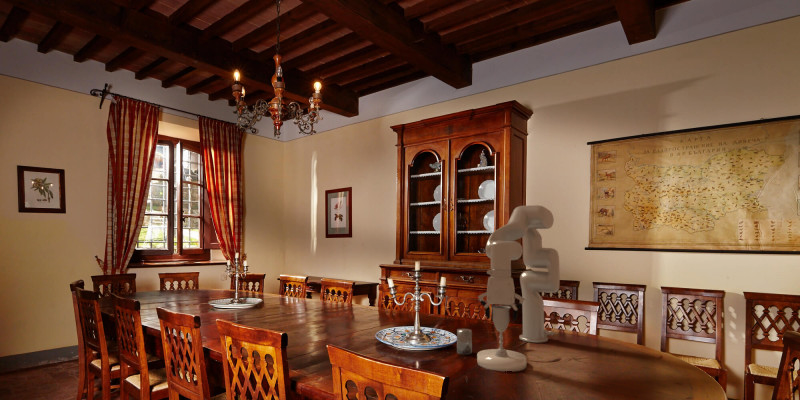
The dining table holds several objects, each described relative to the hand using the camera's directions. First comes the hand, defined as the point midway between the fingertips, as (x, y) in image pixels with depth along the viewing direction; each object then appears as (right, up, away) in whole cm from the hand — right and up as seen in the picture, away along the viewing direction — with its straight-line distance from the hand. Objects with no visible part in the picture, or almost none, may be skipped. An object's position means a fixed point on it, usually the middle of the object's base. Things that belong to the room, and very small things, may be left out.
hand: (501, 319), depth 161 cm
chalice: (0, -14, -1) cm, 14 cm away
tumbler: (-12, -17, +13) cm, 25 cm away
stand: (0, -16, -1) cm, 16 cm away
